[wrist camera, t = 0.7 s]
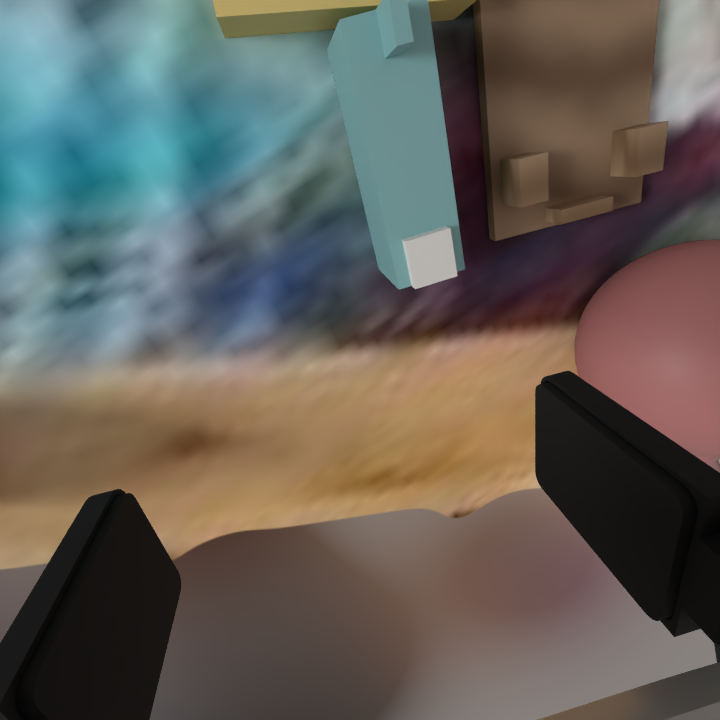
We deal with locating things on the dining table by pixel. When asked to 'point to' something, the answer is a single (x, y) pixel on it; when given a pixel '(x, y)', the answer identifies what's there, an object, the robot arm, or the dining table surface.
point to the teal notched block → (399, 140)
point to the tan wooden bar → (307, 14)
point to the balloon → (660, 343)
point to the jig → (565, 108)
